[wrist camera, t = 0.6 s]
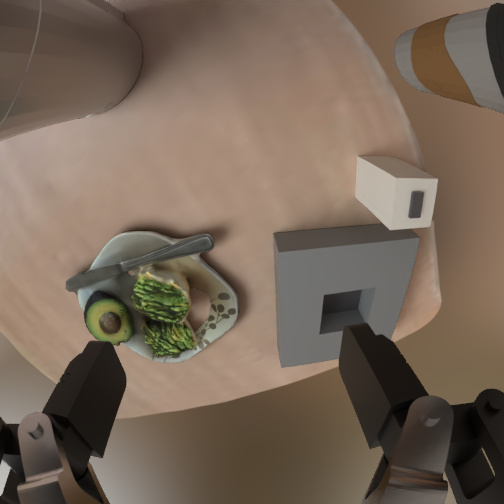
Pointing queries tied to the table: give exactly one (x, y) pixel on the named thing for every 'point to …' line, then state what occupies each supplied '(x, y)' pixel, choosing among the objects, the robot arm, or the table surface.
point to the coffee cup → (457, 57)
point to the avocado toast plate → (154, 295)
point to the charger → (395, 191)
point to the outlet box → (338, 286)
